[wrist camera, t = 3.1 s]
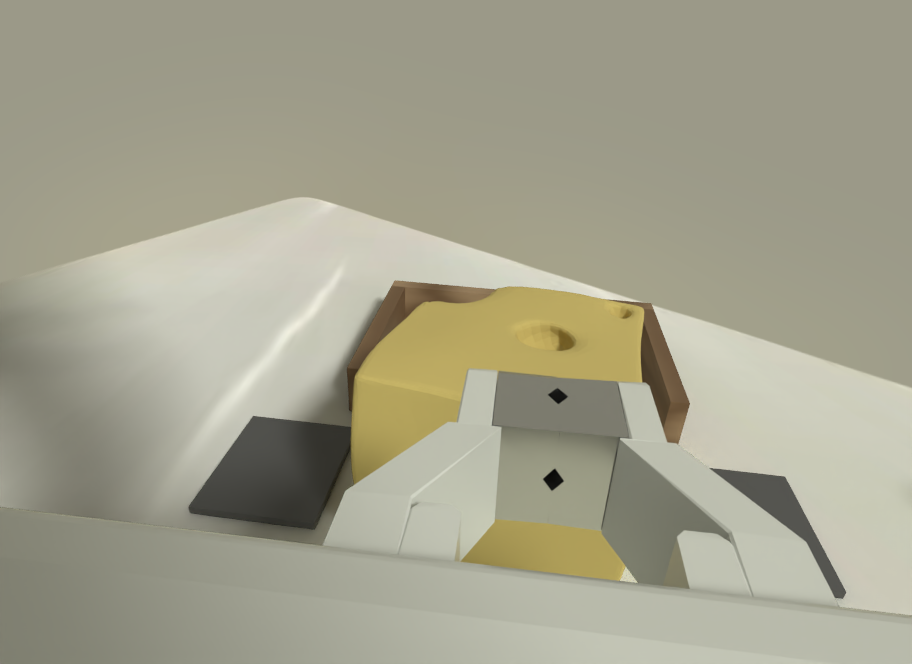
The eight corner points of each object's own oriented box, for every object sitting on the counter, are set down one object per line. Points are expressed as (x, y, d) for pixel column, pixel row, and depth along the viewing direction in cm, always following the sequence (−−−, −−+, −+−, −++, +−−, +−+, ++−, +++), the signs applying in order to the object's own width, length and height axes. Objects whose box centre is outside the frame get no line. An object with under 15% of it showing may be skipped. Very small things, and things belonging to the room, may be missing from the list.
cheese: (431, 426, 34) (435, 266, 29) (621, 468, 31) (660, 300, 26) (354, 570, 25) (340, 374, 20) (610, 643, 22) (665, 441, 18)
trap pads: (190, 512, 27) (188, 506, 27) (254, 421, 33) (253, 416, 33) (842, 598, 25) (846, 592, 24) (782, 482, 31) (784, 476, 30)
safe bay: (349, 410, 35) (346, 367, 33) (395, 315, 45) (394, 280, 44) (677, 446, 33) (689, 403, 31) (643, 339, 44) (651, 303, 42)
